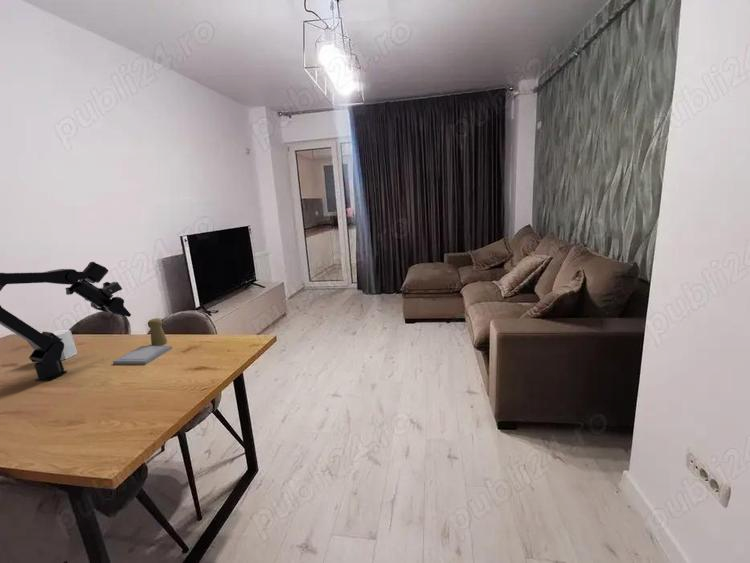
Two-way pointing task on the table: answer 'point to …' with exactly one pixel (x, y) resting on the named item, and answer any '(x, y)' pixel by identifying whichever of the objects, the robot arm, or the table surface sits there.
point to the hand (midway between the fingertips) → (125, 314)
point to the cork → (157, 332)
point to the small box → (66, 344)
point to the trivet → (142, 355)
